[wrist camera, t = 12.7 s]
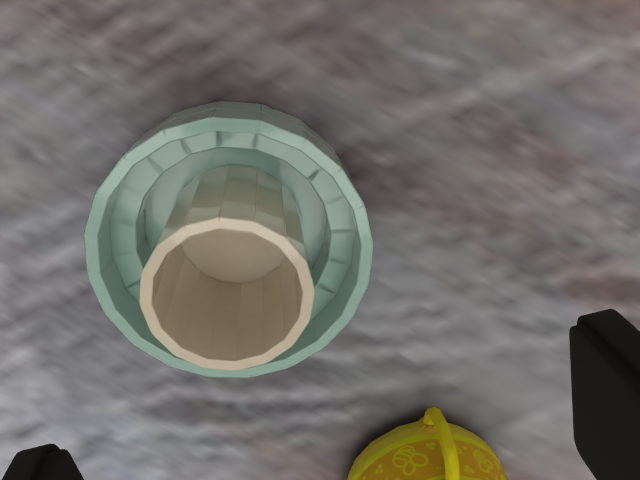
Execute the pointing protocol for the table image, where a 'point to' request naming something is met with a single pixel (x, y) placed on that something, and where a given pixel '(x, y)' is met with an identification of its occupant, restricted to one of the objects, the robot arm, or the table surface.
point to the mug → (427, 454)
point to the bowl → (206, 153)
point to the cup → (229, 271)
